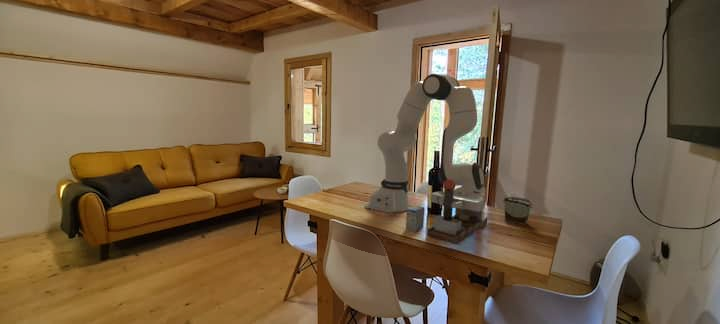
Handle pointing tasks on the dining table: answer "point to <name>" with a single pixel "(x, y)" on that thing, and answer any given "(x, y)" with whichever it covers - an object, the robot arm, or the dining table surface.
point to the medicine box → (415, 218)
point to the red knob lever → (447, 213)
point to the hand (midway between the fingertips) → (447, 204)
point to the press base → (469, 226)
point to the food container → (517, 209)
